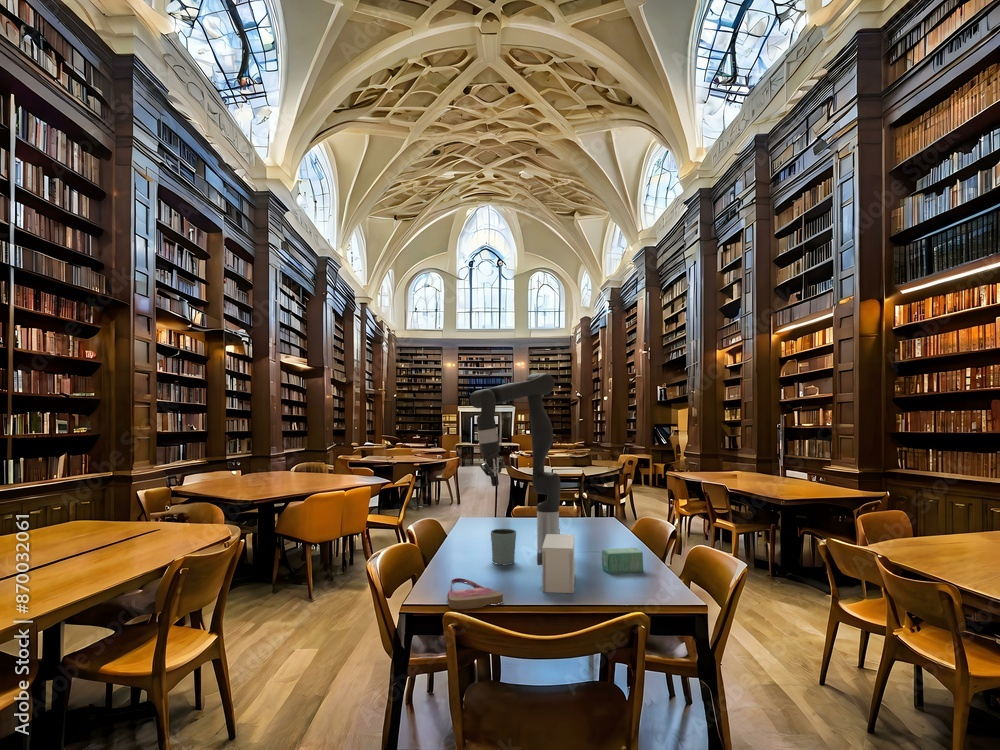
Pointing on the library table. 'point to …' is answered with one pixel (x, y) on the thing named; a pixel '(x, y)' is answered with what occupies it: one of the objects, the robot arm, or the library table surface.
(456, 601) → the shoulder bag
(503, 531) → the grey green cup
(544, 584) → the console
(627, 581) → the library table surface
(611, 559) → the box
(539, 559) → the knob
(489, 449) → the robot arm
